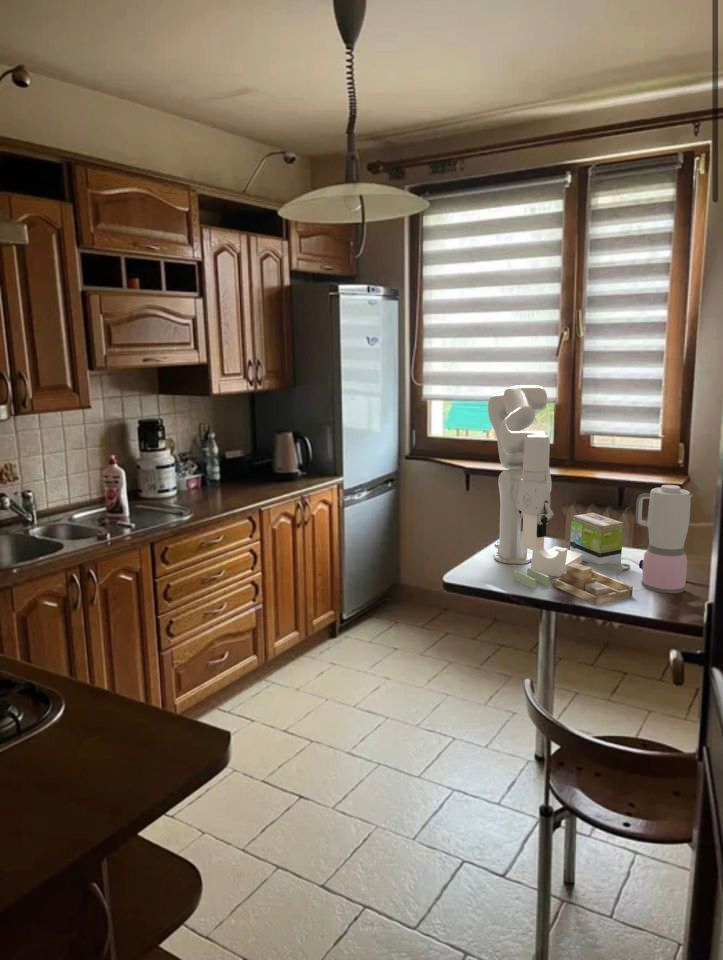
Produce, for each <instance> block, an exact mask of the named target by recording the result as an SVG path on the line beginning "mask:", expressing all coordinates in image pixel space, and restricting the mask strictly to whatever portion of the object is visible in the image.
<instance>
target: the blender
mask: <svg viewBox="0 0 723 960" xmlns="http://www.w3.org/2000/svg"><path fill="white" fill-rule="evenodd" d="M693 496H694V495H693V494H692V493H691V492H690V491H689V490H687V489H683V488H681V486H679V485H677V484H676V485H675V484H674V485H673V484H662V485H661V487H655V488H652V489H651V490H650V493H649V492H648V493H647V492H644V493H641V494H639V495H638V496H637V498H636V505H635V507H636V508H635V522H636V523H637V525H639V526H642V527H645V528H648V529H647V531H648V540H649V541H648V542H649V543H648V544H649V545H648V546H647V549H646V551H645V552H644V554H643V559H641V560H639V563H638V568H639V569H641V570H642V574H641V575H642V578H641V579H642V580H641V586H642V587H643V588H645V589H647V590H650V591H653V592H657V593H663V594H680V593H682V592H685V591H686V589H687V588H686V587H687V586H686V585H687V583H686V581H687V580H686V579H687V573H688V572H687V569H688V559H687V554H686V551H685V542H686V539H687V535H688V531H689V525H690V517H691V499H692V498H691V497H693ZM644 500H649V502H648V511H647V512H648V513H647V520H644V519H643V505H644V504H643V503H644Z"/></svg>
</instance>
